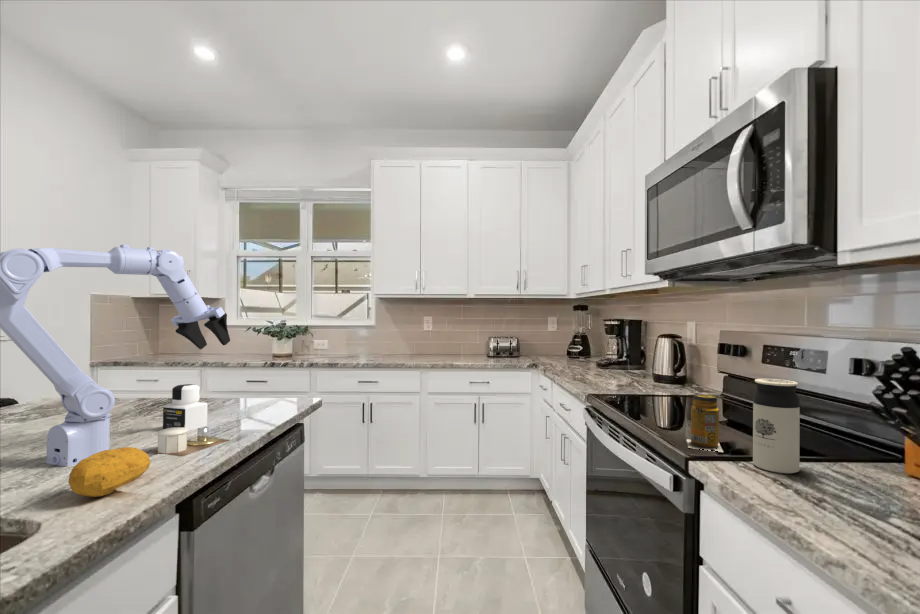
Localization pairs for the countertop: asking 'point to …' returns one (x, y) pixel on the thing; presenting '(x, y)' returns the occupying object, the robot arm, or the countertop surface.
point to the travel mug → (776, 426)
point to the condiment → (704, 423)
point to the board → (192, 448)
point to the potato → (108, 471)
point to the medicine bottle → (185, 408)
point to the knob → (202, 438)
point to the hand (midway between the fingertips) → (215, 345)
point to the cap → (172, 440)
